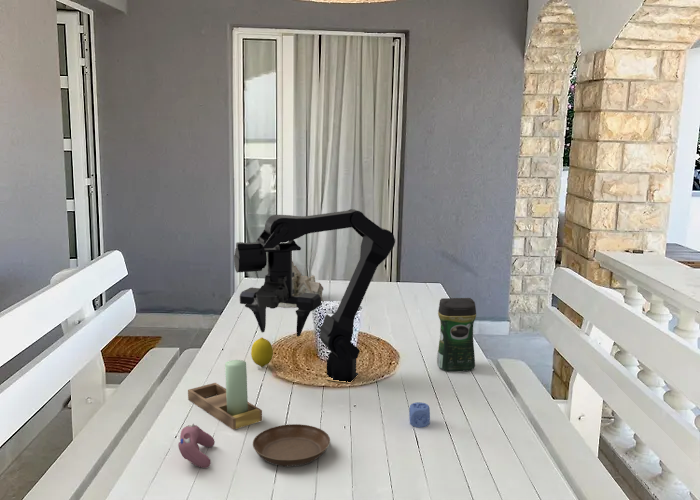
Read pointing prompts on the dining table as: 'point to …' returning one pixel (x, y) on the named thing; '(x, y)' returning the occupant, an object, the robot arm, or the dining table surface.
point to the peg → (236, 387)
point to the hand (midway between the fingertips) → (280, 334)
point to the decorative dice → (419, 414)
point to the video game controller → (195, 445)
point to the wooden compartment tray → (222, 406)
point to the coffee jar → (456, 334)
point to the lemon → (261, 352)
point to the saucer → (291, 444)
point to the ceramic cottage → (302, 286)
